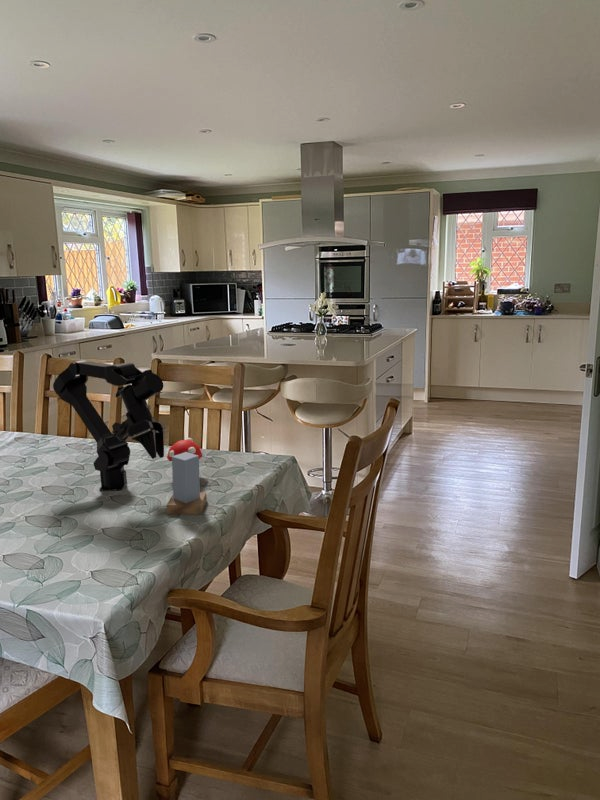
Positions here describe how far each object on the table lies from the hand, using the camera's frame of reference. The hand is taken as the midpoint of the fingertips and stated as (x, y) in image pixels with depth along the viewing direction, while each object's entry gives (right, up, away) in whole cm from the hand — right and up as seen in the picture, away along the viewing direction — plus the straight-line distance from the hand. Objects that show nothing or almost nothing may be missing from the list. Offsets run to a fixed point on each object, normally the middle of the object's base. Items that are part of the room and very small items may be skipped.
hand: (158, 457), depth 164 cm
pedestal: (+8, -14, -2) cm, 16 cm away
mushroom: (+3, -8, +21) cm, 23 cm away
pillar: (+8, -11, -3) cm, 14 cm away
